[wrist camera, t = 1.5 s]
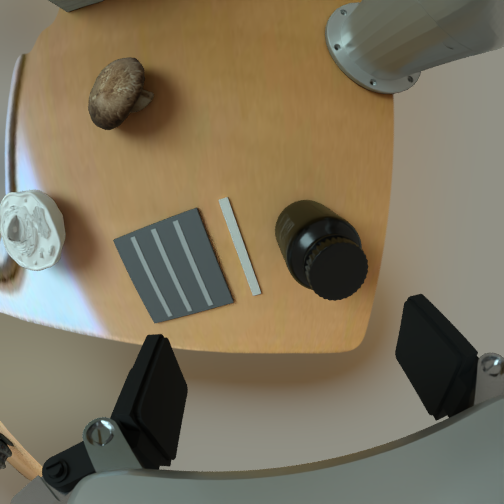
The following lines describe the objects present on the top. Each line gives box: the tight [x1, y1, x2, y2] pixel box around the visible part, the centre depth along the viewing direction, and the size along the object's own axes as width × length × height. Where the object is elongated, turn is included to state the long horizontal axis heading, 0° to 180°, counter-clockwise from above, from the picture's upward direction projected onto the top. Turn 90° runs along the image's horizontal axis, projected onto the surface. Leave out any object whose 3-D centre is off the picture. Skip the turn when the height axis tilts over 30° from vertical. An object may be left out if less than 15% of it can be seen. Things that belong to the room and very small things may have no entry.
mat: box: [113, 208, 233, 323], centre depth 32 cm, size 11×12×1 cm
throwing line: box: [219, 197, 261, 296], centre depth 31 cm, size 1×12×1 cm, turn 18°
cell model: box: [0, 190, 66, 271], centre depth 26 cm, size 10×12×7 cm
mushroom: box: [88, 57, 154, 130], centre depth 23 cm, size 8×8×6 cm
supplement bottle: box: [275, 200, 368, 301], centre depth 25 cm, size 7×7×12 cm
